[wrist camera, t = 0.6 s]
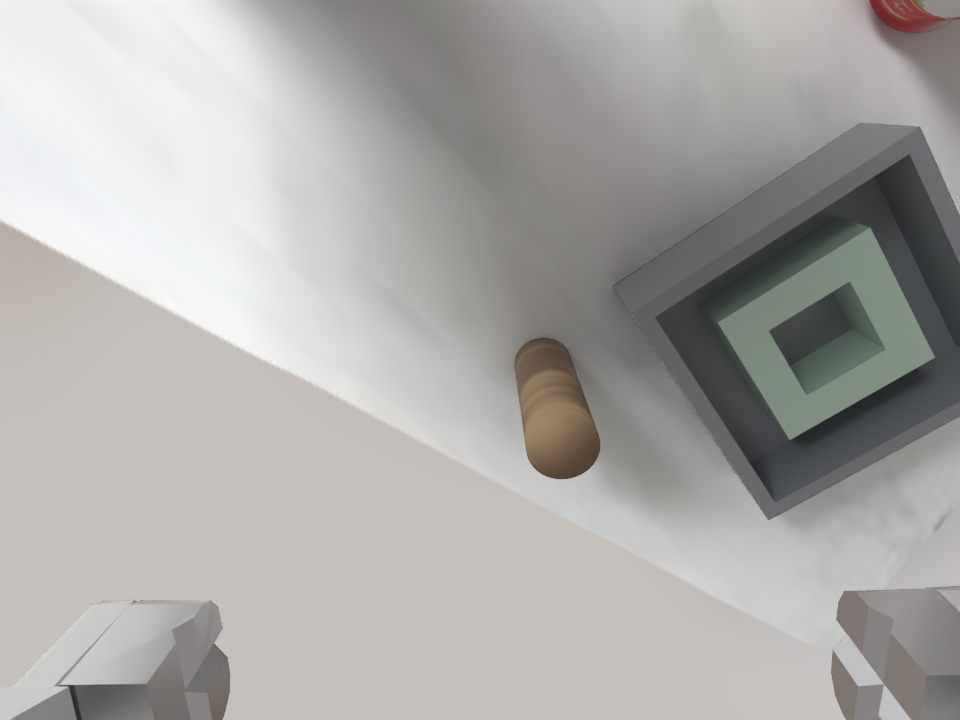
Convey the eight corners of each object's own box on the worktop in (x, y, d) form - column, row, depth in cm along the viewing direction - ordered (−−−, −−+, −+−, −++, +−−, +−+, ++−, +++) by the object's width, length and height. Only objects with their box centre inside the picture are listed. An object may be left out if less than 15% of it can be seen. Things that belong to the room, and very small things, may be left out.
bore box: (612, 286, 45) (631, 313, 40) (860, 122, 42) (920, 126, 36) (736, 473, 51) (768, 520, 45) (965, 343, 47) (1031, 377, 41)
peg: (503, 358, 47) (511, 439, 36) (550, 327, 46) (574, 400, 35) (535, 400, 48) (552, 491, 37) (581, 370, 48) (614, 454, 36)
